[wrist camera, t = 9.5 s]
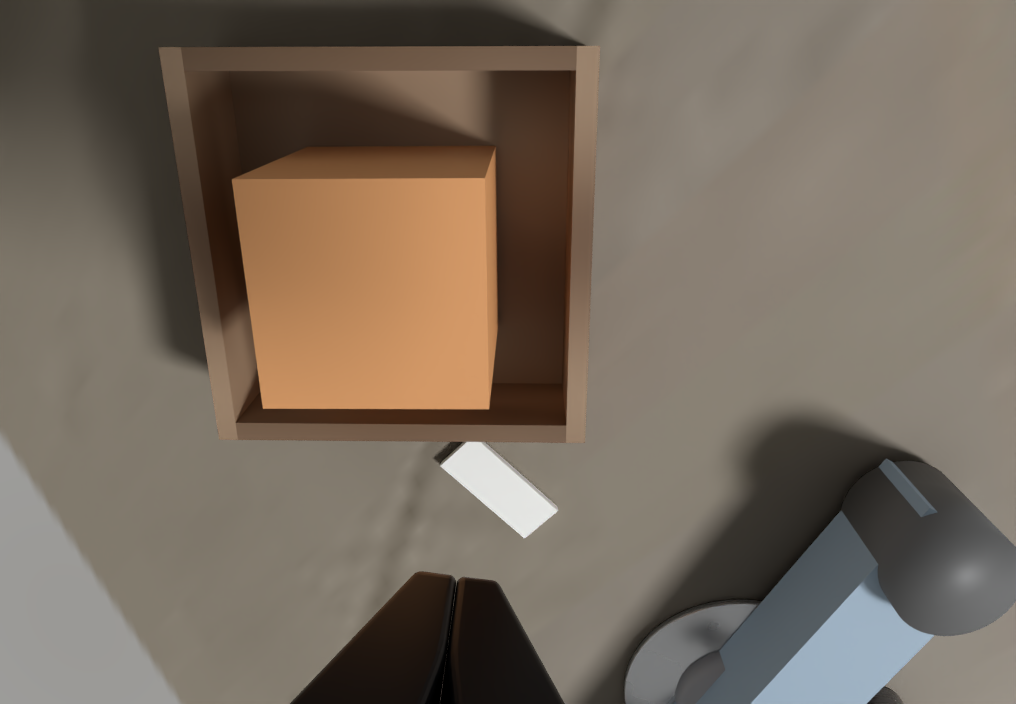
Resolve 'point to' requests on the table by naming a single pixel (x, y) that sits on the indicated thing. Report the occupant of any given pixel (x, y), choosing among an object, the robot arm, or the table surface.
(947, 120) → the table surface
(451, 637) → the robot arm
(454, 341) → the block
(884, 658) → the crank
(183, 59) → the tray
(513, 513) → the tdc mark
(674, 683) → the plate
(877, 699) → the post
